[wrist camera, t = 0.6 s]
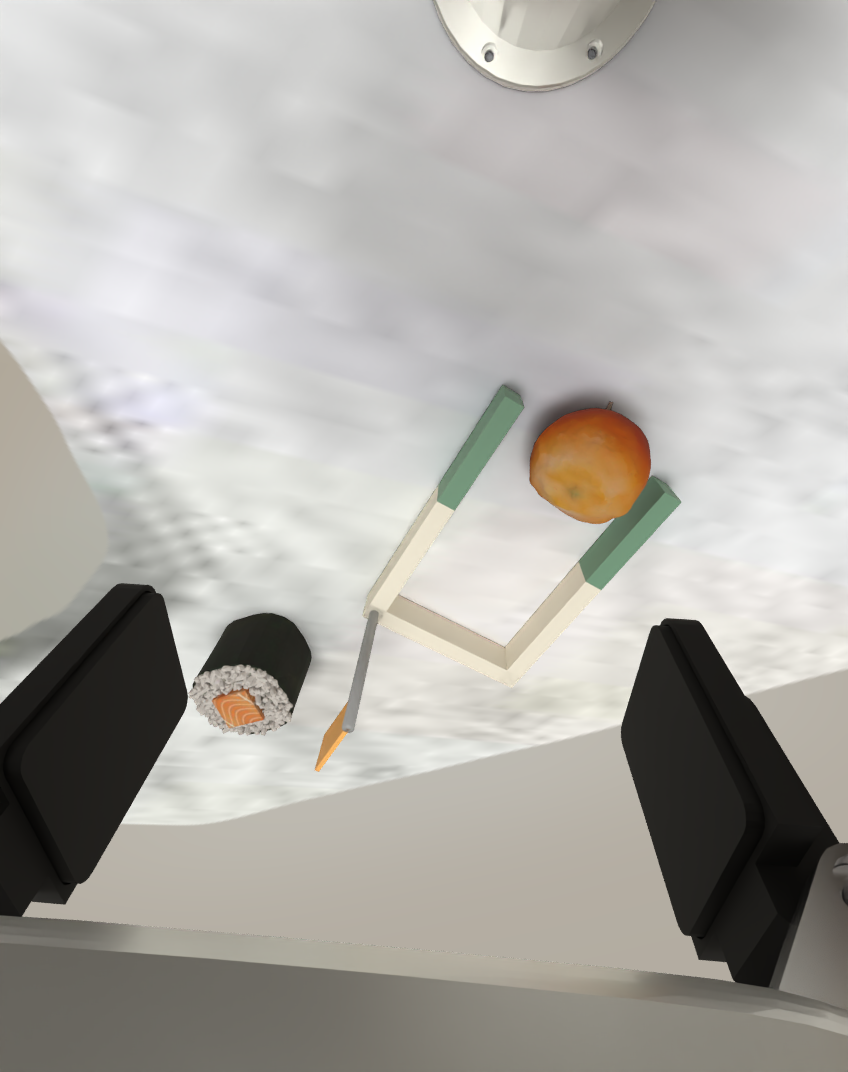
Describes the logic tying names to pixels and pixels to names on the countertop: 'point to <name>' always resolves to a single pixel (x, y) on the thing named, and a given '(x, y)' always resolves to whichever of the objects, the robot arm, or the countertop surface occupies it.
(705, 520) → the countertop surface
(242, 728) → the sushi
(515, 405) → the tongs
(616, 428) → the fruit
